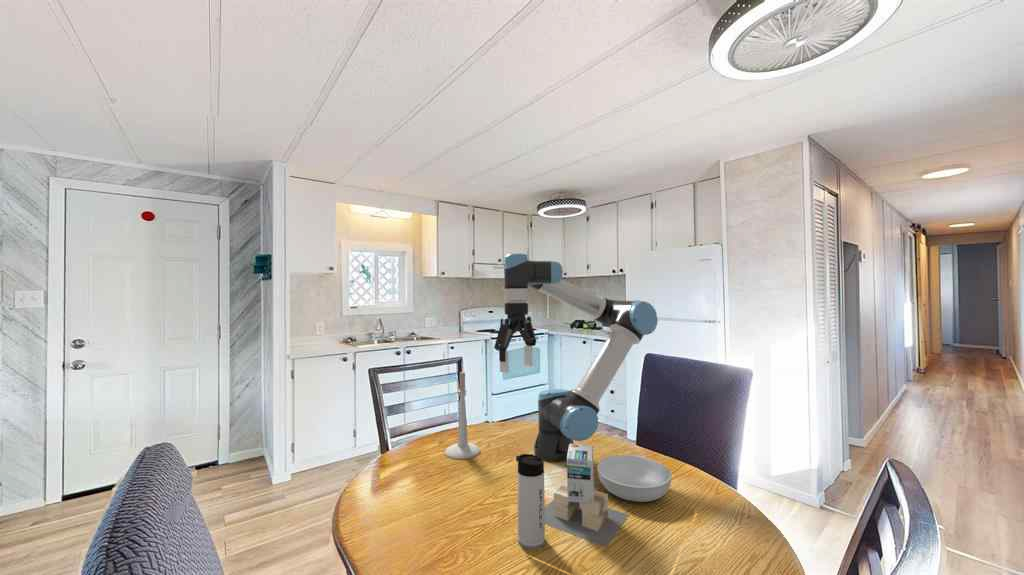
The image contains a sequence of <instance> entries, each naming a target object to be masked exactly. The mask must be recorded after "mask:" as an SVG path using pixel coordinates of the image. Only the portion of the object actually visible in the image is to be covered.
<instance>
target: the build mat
mask: <svg viewBox="0 0 1024 575" xmlns="http://www.w3.org/2000/svg"><path fill="white" fill-rule="evenodd" d="M629 516H630V514H629V513H626V512H623V511H620V510H616V509H614V508H609V507H608V519H607V520H606V521H605V522H604V524H603V525H602V526H601V527H600V529H599V530H598V531H595V530H592V529H589V528H587V527H584V526H582V503H580V509H579V510H578V511H577V512H576V513H575V514H574V515H573V516H572V517H571V518H570V519H569V520H568V521H567V520H564V519H562V518H559V517H556V516H554V499H553V500H551V501H550V502H549V503H548V504H547V505H546V506H545V526H546V525H547V526H549V527H551V528H554V529H557V530H559V531H561V532H565V533H567V534H569V535H573V536H574V537H575V536H576V537H577V538H581V539H583V540H586V541H588V542H590V543H594V544H596V545H599V546H601V547H604V548H607V546H608V545H609V544H610V542H611V541H613V539H614V537H615V535H616V534H617V533H618V531H619V530H620V528H621V527H622V526H623V524H624V523H625V522H626V520H627V519H628V517H629Z"/></svg>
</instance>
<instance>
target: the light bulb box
mask: <svg viewBox="0 0 1024 575" xmlns="http://www.w3.org/2000/svg"><path fill="white" fill-rule="evenodd" d="M594 462H595V461H594V445H590V444H578V443H574V444H569V448H568V454H567V460H566V477H567V478H566V480H567V481H566V482H567V495H568V501H570V502H579V503H589V504H594V490H595V469H594V468H595V467H594V466H595V463H594Z"/></svg>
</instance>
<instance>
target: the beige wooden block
mask: <svg viewBox="0 0 1024 575" xmlns="http://www.w3.org/2000/svg"><path fill="white" fill-rule="evenodd" d="M553 500H554V516H556V517H559V518H562V519H564V520H567V521H568V520H569V519H570V518H571V517H572V516H573V515H574V514H575V513H576V512H577V511H578V510H579V509H580V503H579V502H570V501H568V495H567V481H566V482H564V483H563V484H562V485H561V486H559V487H558V489H556V490H555V491H554V492H553Z"/></svg>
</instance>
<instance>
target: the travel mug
mask: <svg viewBox="0 0 1024 575" xmlns="http://www.w3.org/2000/svg"><path fill="white" fill-rule="evenodd" d="M515 456H516V457H515V461H516V462H517V536H518V537H517V543H518V545H519V546H520V547H521V548H523V549H524V550H530V551H531V550H532V551H535V550H539V549H541V548H543V547H544V545H545V543H546V537H545V536H546V533H545V532H546V527H545V526H546V524H545V507H546V506H545V468H544V467H545V462H544V461H545V460H543V459H542V458H541V457H539V456H536V455H535V454H531V453H522V454H520V455H515Z"/></svg>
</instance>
